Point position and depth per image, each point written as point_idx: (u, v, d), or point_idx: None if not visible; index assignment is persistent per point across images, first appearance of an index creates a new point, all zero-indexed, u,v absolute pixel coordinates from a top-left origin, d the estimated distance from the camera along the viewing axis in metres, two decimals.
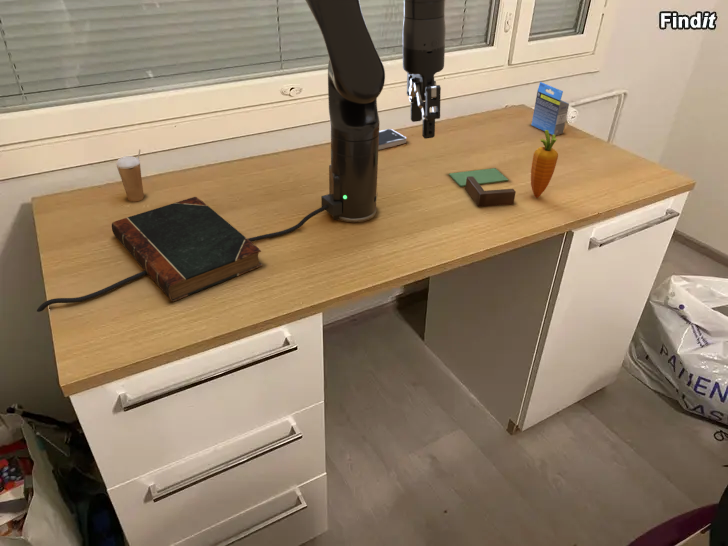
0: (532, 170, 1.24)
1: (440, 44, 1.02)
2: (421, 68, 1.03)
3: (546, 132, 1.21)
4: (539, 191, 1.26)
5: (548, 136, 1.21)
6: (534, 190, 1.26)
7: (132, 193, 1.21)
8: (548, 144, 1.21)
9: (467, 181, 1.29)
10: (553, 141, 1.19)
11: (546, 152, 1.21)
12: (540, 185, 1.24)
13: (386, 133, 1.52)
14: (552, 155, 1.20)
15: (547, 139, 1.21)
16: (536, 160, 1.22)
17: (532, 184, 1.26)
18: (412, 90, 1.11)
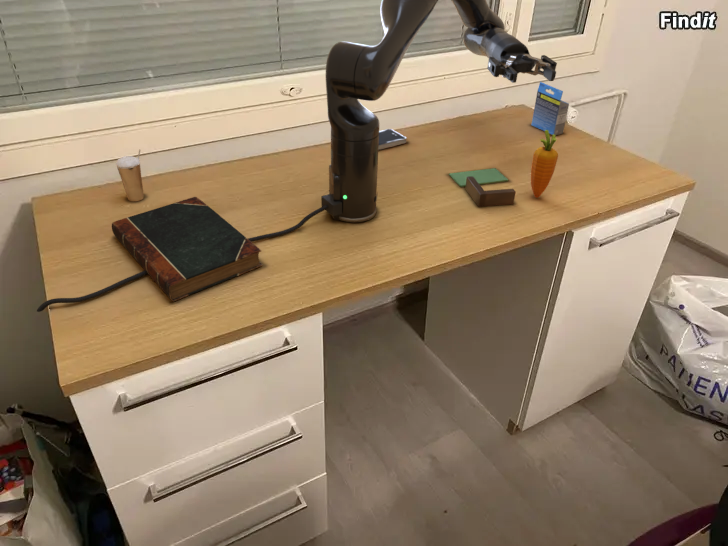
0: (532, 170, 1.24)
1: None
2: None
3: (546, 132, 1.21)
4: (539, 191, 1.26)
5: (548, 136, 1.21)
6: (534, 190, 1.26)
7: (132, 193, 1.21)
8: (548, 144, 1.21)
9: (467, 181, 1.29)
10: (553, 141, 1.19)
11: (546, 152, 1.21)
12: (540, 185, 1.24)
13: (386, 133, 1.52)
14: (552, 155, 1.20)
15: (547, 139, 1.21)
16: (536, 160, 1.22)
17: (532, 184, 1.26)
18: (514, 60, 1.29)
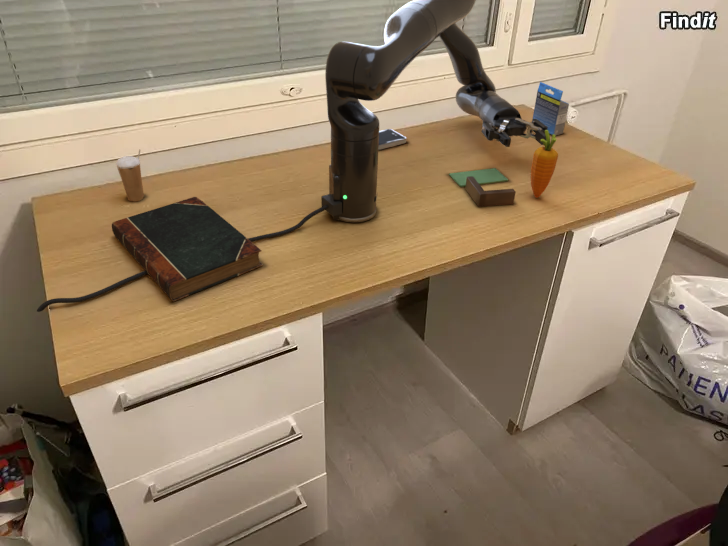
0: (532, 170, 1.24)
1: None
2: None
3: (546, 132, 1.21)
4: (539, 191, 1.26)
5: (548, 136, 1.21)
6: (534, 190, 1.26)
7: (132, 193, 1.21)
8: (548, 144, 1.21)
9: (467, 181, 1.29)
10: (553, 141, 1.19)
11: (546, 152, 1.21)
12: (540, 185, 1.24)
13: (386, 133, 1.52)
14: (552, 155, 1.20)
15: (547, 139, 1.21)
16: (536, 160, 1.22)
17: (532, 184, 1.26)
18: (507, 124, 1.35)
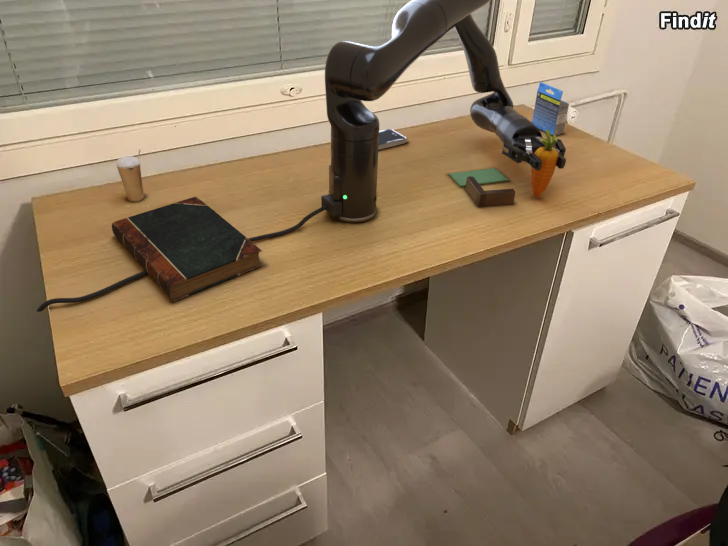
0: (532, 170, 1.24)
1: None
2: None
3: (547, 132, 1.21)
4: (539, 192, 1.26)
5: (549, 136, 1.21)
6: (534, 190, 1.26)
7: (132, 193, 1.21)
8: (549, 144, 1.21)
9: (467, 181, 1.29)
10: (554, 141, 1.19)
11: (547, 152, 1.21)
12: (540, 185, 1.24)
13: (386, 133, 1.52)
14: (552, 155, 1.20)
15: (548, 139, 1.21)
16: None
17: (532, 184, 1.26)
18: (530, 144, 1.26)
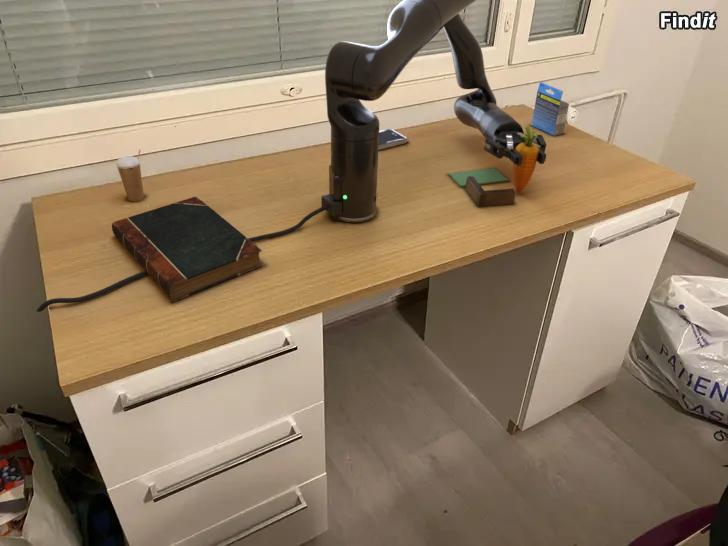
0: (514, 166, 1.26)
1: None
2: None
3: (527, 128, 1.22)
4: (521, 187, 1.28)
5: (529, 132, 1.22)
6: (516, 185, 1.28)
7: (132, 193, 1.21)
8: (529, 140, 1.23)
9: (467, 181, 1.29)
10: (533, 137, 1.20)
11: (527, 148, 1.22)
12: (522, 180, 1.26)
13: (386, 133, 1.52)
14: (532, 150, 1.22)
15: (528, 135, 1.23)
16: None
17: (514, 179, 1.28)
18: None
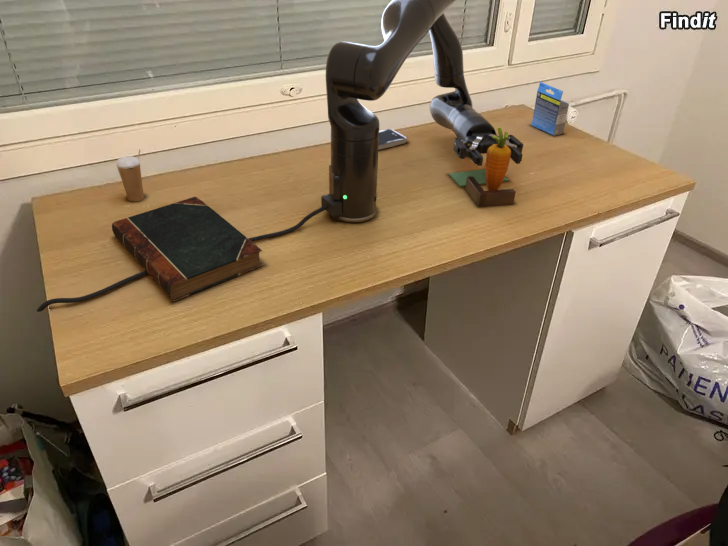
0: (486, 167, 1.25)
1: None
2: None
3: (499, 129, 1.21)
4: (494, 189, 1.27)
5: (501, 133, 1.21)
6: (489, 187, 1.27)
7: (132, 193, 1.21)
8: (501, 141, 1.22)
9: (467, 181, 1.29)
10: (505, 138, 1.19)
11: (499, 149, 1.21)
12: (494, 182, 1.25)
13: (386, 133, 1.52)
14: (504, 152, 1.21)
15: (500, 136, 1.22)
16: (489, 157, 1.23)
17: (486, 181, 1.27)
18: (480, 141, 1.26)
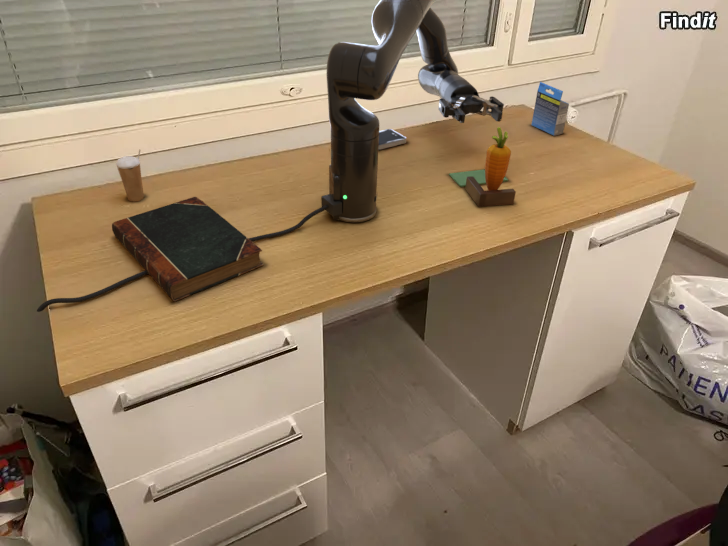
0: (486, 167, 1.25)
1: None
2: None
3: (498, 129, 1.21)
4: (494, 189, 1.27)
5: (500, 133, 1.21)
6: (489, 187, 1.27)
7: (132, 193, 1.21)
8: (501, 141, 1.22)
9: (467, 181, 1.29)
10: (505, 138, 1.19)
11: (498, 149, 1.21)
12: (494, 182, 1.25)
13: (386, 133, 1.52)
14: (504, 152, 1.21)
15: (499, 136, 1.22)
16: (489, 157, 1.23)
17: (486, 181, 1.26)
18: (463, 101, 1.35)
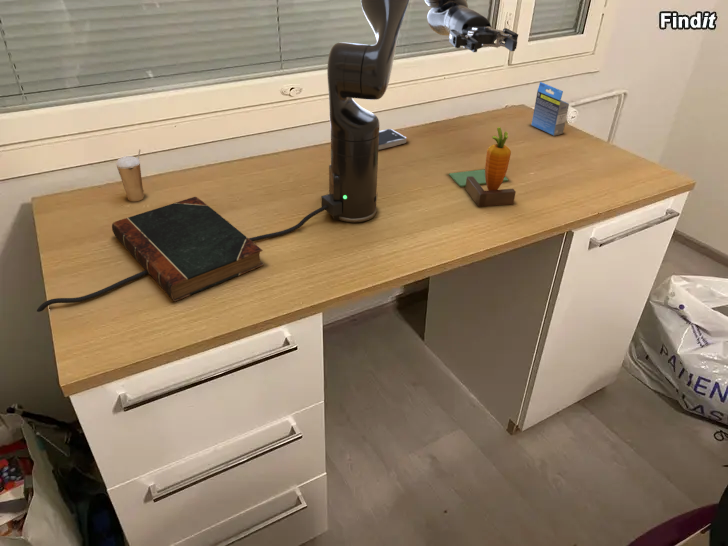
0: (486, 167, 1.25)
1: None
2: None
3: (498, 129, 1.21)
4: (494, 189, 1.27)
5: (500, 133, 1.21)
6: (489, 187, 1.27)
7: (132, 193, 1.21)
8: (501, 141, 1.22)
9: (467, 181, 1.29)
10: (505, 138, 1.19)
11: (498, 149, 1.21)
12: (494, 182, 1.25)
13: (386, 133, 1.52)
14: (504, 152, 1.21)
15: (499, 136, 1.22)
16: (489, 157, 1.23)
17: (486, 181, 1.26)
18: (475, 31, 1.28)
